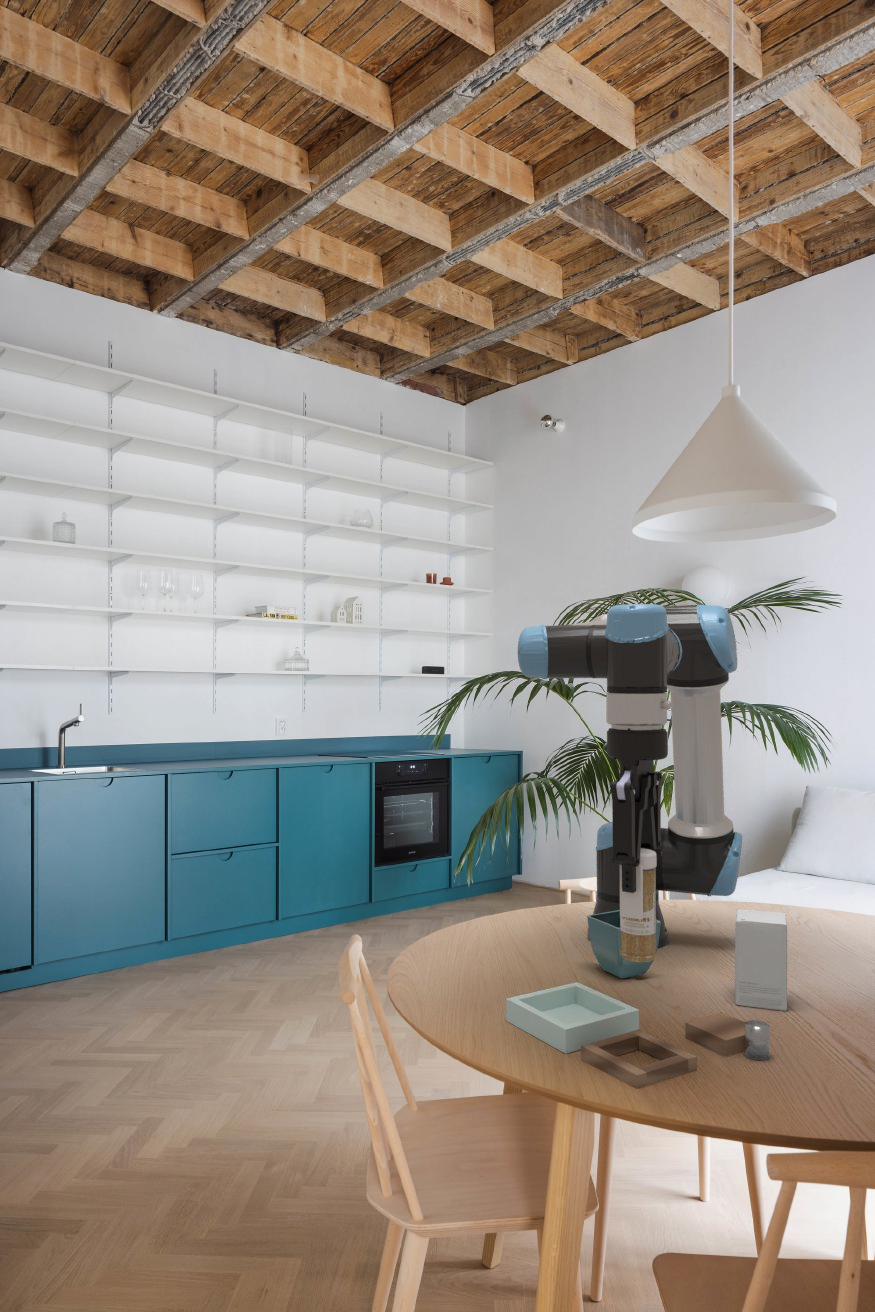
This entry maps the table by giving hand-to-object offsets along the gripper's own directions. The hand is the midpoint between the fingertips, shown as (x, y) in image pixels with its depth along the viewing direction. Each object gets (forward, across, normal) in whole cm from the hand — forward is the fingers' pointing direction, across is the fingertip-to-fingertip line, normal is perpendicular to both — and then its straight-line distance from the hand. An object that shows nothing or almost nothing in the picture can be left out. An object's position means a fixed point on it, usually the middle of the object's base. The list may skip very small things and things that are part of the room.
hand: (638, 912), depth 114 cm
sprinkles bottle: (+6, 0, 0) cm, 6 cm away
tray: (+19, +7, +12) cm, 24 cm away
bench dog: (+19, +10, -12) cm, 25 cm away
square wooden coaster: (+20, +13, -8) cm, 25 cm away
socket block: (+19, 0, 0) cm, 19 cm away
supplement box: (+20, +31, -9) cm, 38 cm away
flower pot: (+20, +32, +13) cm, 40 cm away
